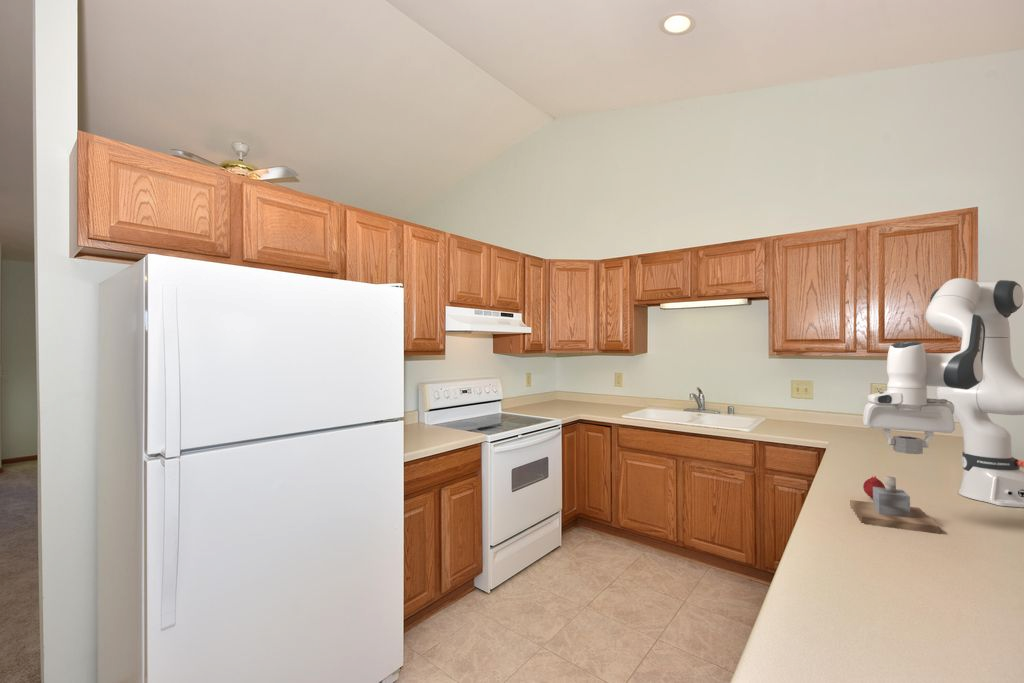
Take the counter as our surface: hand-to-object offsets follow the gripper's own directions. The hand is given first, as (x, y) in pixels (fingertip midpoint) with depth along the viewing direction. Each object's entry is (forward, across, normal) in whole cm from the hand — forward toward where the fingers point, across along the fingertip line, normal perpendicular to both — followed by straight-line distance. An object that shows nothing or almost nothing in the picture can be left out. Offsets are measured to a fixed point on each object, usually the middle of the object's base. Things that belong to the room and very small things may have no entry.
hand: (907, 446), depth 133 cm
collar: (+2, 0, 0) cm, 2 cm away
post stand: (+22, +4, -1) cm, 22 cm away
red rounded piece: (+22, +3, -20) cm, 30 cm away
